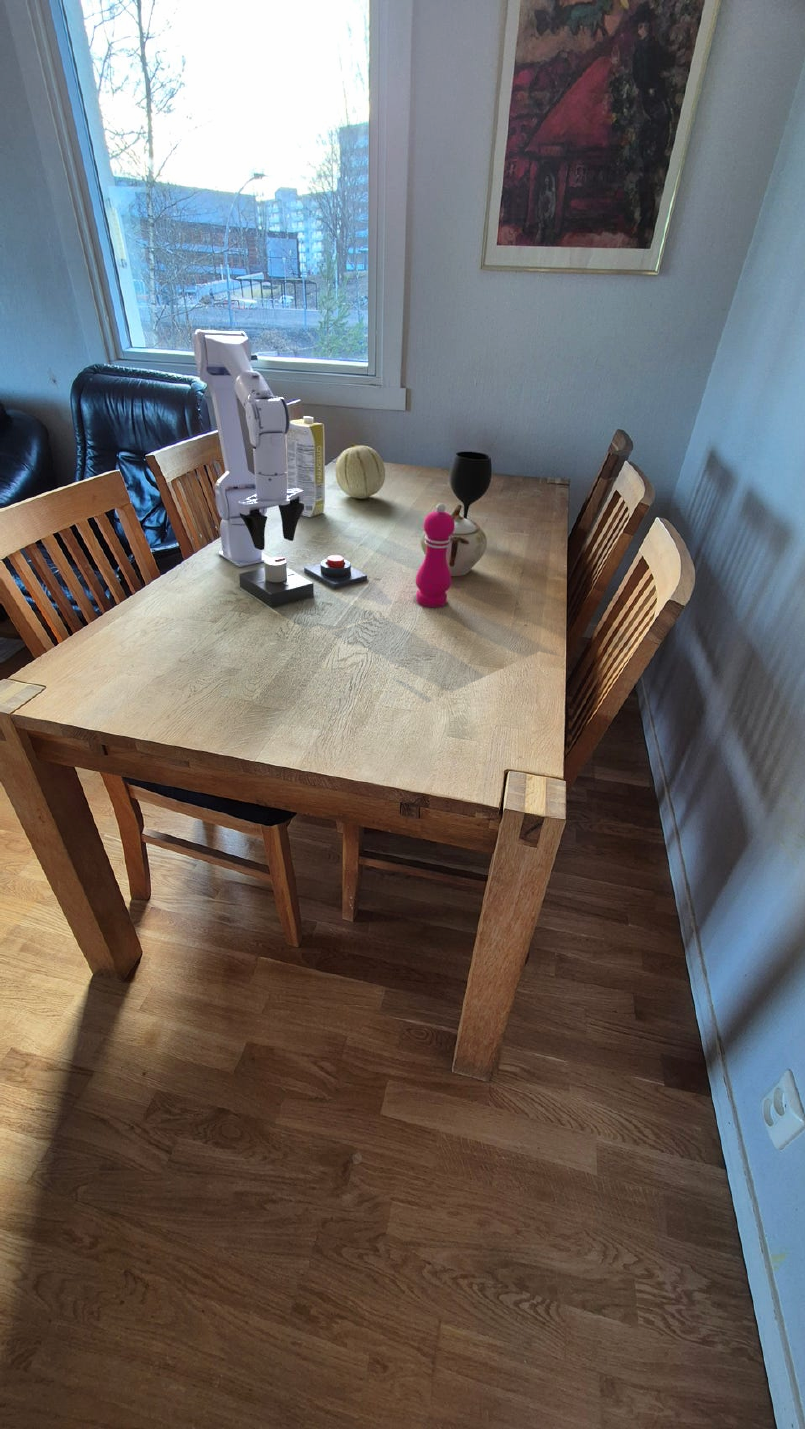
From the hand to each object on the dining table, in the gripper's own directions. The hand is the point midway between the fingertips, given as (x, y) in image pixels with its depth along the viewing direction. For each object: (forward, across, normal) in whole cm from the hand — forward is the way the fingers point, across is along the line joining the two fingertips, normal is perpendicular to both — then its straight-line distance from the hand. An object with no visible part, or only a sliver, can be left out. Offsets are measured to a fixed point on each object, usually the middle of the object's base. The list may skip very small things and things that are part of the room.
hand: (274, 543), depth 120 cm
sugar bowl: (+10, +38, -18) cm, 43 cm away
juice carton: (+10, +41, +33) cm, 54 cm away
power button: (+8, +15, -3) cm, 17 cm away
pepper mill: (+10, +20, -25) cm, 34 cm away
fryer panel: (+10, 0, 0) cm, 10 cm away
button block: (+10, +15, -3) cm, 18 cm away
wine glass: (+10, +60, -6) cm, 61 cm away
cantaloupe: (+10, +64, +34) cm, 73 cm away
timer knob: (+7, 0, 0) cm, 7 cm away
